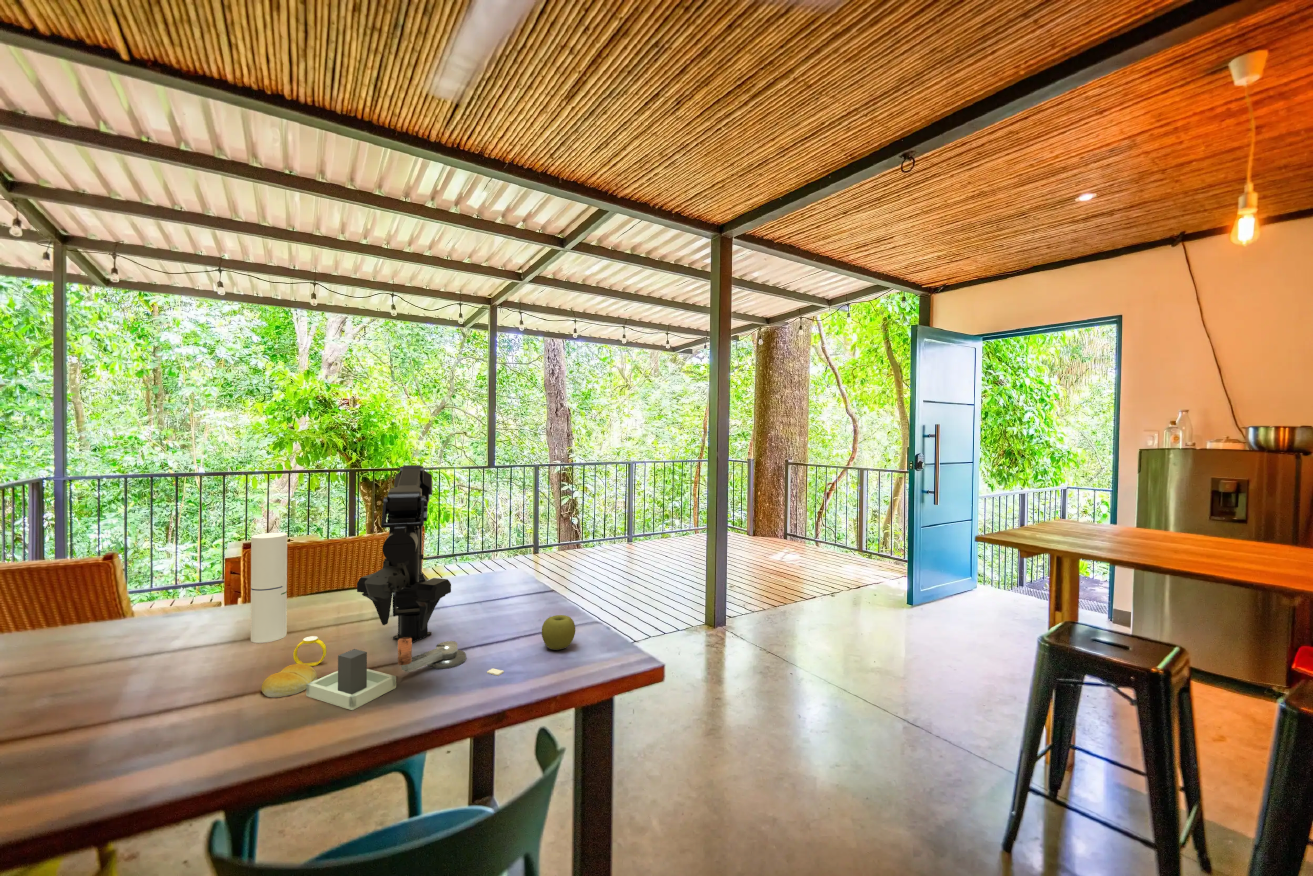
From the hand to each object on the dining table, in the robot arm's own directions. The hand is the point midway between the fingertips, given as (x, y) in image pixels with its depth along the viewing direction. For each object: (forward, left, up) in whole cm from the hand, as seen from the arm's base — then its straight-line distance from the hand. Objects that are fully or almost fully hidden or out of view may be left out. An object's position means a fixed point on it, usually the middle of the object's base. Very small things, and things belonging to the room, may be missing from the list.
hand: (403, 627), depth 112 cm
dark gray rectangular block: (-4, -9, -10) cm, 14 cm away
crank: (+1, +6, -9) cm, 11 cm away
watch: (-23, -4, -11) cm, 26 cm away
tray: (-4, -9, -11) cm, 14 cm away
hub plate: (+2, +10, -11) cm, 15 cm away
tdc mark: (+15, +10, -11) cm, 21 cm away
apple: (+20, +27, -11) cm, 35 cm away
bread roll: (-17, -12, -11) cm, 24 cm away
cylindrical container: (-47, +2, -11) cm, 48 cm away
